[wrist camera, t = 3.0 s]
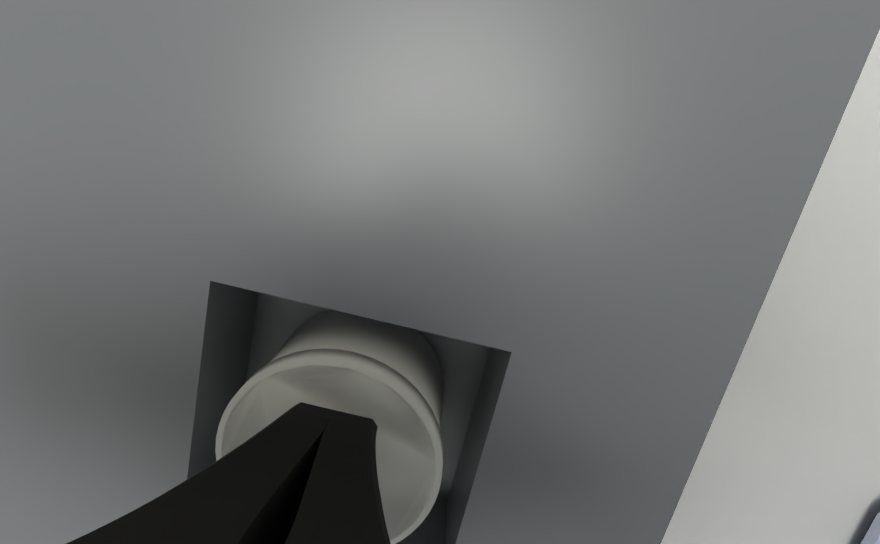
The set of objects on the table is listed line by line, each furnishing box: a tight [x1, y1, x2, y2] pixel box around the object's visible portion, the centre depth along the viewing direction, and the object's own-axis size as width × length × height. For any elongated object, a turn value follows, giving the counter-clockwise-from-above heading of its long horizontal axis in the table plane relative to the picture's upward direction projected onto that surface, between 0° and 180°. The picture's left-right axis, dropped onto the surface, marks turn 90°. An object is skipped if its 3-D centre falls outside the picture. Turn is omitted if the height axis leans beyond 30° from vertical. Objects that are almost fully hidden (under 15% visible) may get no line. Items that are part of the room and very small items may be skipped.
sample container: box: [215, 310, 444, 544], centre depth 10 cm, size 4×4×3 cm
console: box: [0, 0, 880, 544], centre depth 9 cm, size 24×12×3 cm, turn 167°
